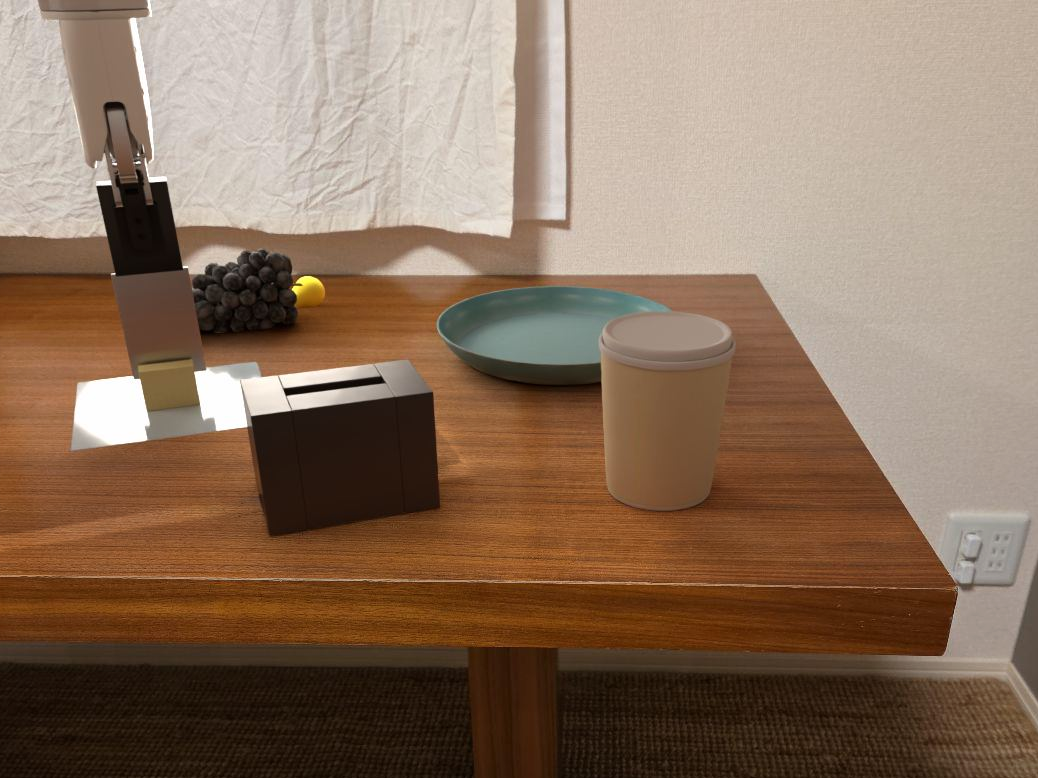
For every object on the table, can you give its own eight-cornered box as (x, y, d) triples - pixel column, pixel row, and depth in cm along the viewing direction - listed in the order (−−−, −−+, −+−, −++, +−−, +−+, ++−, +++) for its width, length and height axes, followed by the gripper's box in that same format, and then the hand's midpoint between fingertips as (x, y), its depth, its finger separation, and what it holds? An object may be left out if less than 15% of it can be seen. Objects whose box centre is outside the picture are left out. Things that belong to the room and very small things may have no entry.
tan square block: (146, 411, 85) (138, 372, 84) (146, 404, 87) (138, 365, 85) (200, 404, 87) (193, 365, 85) (199, 397, 88) (192, 359, 86)
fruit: (143, 258, 98) (297, 240, 103) (143, 267, 106) (287, 249, 110) (163, 348, 100) (314, 326, 105) (163, 350, 107) (303, 329, 112)
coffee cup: (667, 450, 80) (677, 302, 74) (748, 495, 73) (766, 335, 68) (570, 479, 76) (572, 323, 70) (647, 529, 69) (656, 362, 63)
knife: (134, 383, 85) (90, 186, 77) (133, 375, 87) (90, 181, 79) (207, 374, 87) (172, 180, 79) (205, 366, 89) (171, 176, 81)
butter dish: (72, 462, 79) (70, 451, 78) (79, 392, 92) (76, 382, 92) (280, 433, 84) (278, 422, 83) (258, 371, 97) (256, 361, 96)
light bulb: (333, 304, 116) (328, 279, 113) (291, 329, 113) (286, 304, 110) (314, 290, 117) (309, 265, 114) (272, 315, 114) (266, 290, 112)
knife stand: (269, 536, 68) (250, 416, 64) (257, 493, 74) (239, 379, 70) (440, 507, 72) (433, 391, 68) (416, 468, 78) (408, 358, 73)
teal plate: (400, 382, 94) (398, 348, 92) (482, 308, 114) (481, 279, 113) (657, 407, 88) (659, 371, 87) (695, 325, 108) (698, 294, 107)
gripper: (43, -6, 78) (97, 236, 87) (28, -1, 65) (93, 282, 74) (145, -8, 80) (187, 228, 89) (151, -4, 67) (199, 272, 76)
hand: (144, 251), depth 82 cm, fingers closed on knife, 2 cm apart
